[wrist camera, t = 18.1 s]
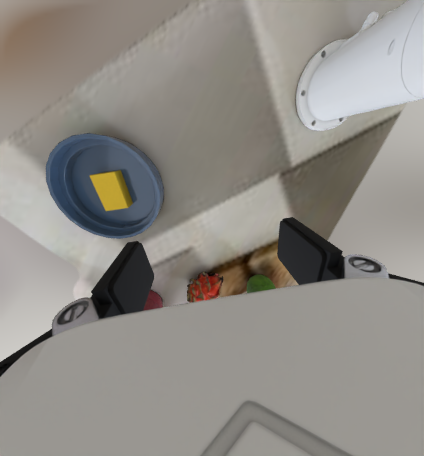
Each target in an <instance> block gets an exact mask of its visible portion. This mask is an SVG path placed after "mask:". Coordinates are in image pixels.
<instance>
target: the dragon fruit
mask: <svg viewBox="0 0 424 456" xmlns="http://www.w3.org/2000/svg"><path fill="white" fill-rule="evenodd" d="M202 274H203V275H205V276H204V277H203V276H202ZM202 274H199V275H198V276H197V279H196V280H195V279H191V280H192V281H193V284H189V285H187V287H188V290H187V301H189V302H198V301H204V300H210V299H216V298H217V297H218V296H219V295H220V289H221V286H222V282H223V276H222V278H221V277H218V276H219V275H218V274H216V273H211V275H214V274H215V275H214V276H208V273H206V272H205V271H204V272H203V273H202ZM209 275H210V274H209ZM199 276H200V278H199ZM191 280H190V282H191Z"/></svg>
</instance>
